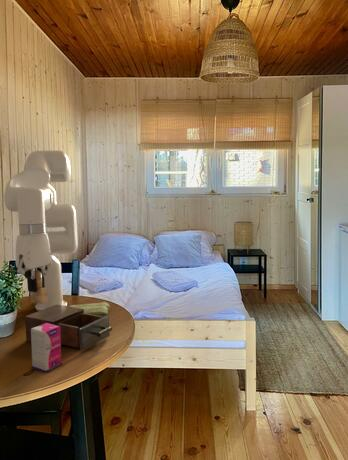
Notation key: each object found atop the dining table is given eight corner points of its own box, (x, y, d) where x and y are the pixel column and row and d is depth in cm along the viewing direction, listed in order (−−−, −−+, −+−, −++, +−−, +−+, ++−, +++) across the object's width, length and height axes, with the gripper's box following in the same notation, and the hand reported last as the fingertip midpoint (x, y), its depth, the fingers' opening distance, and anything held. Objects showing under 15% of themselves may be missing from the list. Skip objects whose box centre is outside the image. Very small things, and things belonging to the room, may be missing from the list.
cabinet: (85, 332, 143) (84, 308, 142) (54, 347, 131) (53, 321, 130) (58, 327, 149) (56, 304, 148) (26, 341, 137) (24, 316, 136)
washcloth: (65, 310, 168) (65, 303, 168) (110, 308, 169) (109, 301, 169) (59, 321, 155) (59, 313, 155) (107, 319, 156) (107, 311, 156)
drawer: (119, 337, 136) (118, 317, 135) (93, 352, 124) (92, 331, 123) (82, 330, 143) (81, 311, 142) (54, 344, 132) (53, 323, 131)
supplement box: (46, 372, 114) (44, 332, 112) (32, 368, 117) (29, 328, 116) (62, 364, 119) (60, 325, 117) (48, 360, 122) (46, 322, 120)
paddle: (30, 302, 127) (28, 270, 126) (36, 300, 129) (34, 269, 128) (42, 304, 124) (40, 272, 123) (48, 302, 126) (46, 270, 125)
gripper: (43, 226, 133) (46, 283, 135) (1, 232, 119) (6, 295, 121) (61, 227, 130) (64, 285, 132) (20, 233, 116) (24, 298, 118)
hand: (36, 289), depth 126 cm, fingers closed on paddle, 2 cm apart
